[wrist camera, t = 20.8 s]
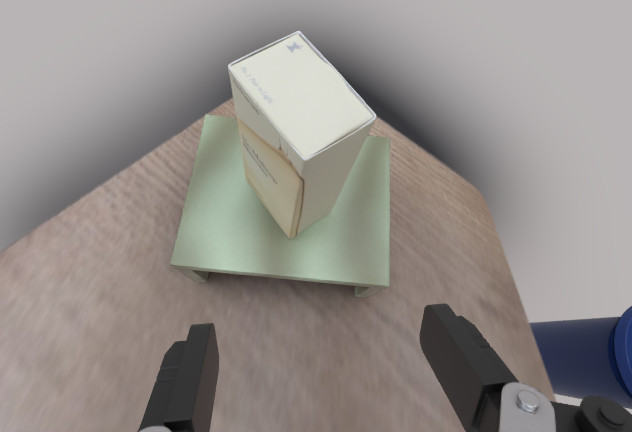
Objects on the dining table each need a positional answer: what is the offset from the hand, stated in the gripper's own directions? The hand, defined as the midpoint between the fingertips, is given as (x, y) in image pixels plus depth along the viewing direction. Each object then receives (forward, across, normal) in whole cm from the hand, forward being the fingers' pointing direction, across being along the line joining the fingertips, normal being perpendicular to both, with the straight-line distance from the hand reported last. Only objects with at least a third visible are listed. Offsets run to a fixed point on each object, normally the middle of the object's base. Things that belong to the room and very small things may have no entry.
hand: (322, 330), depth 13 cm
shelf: (+20, 0, +5) cm, 21 cm away
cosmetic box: (+15, 0, +1) cm, 15 cm away
